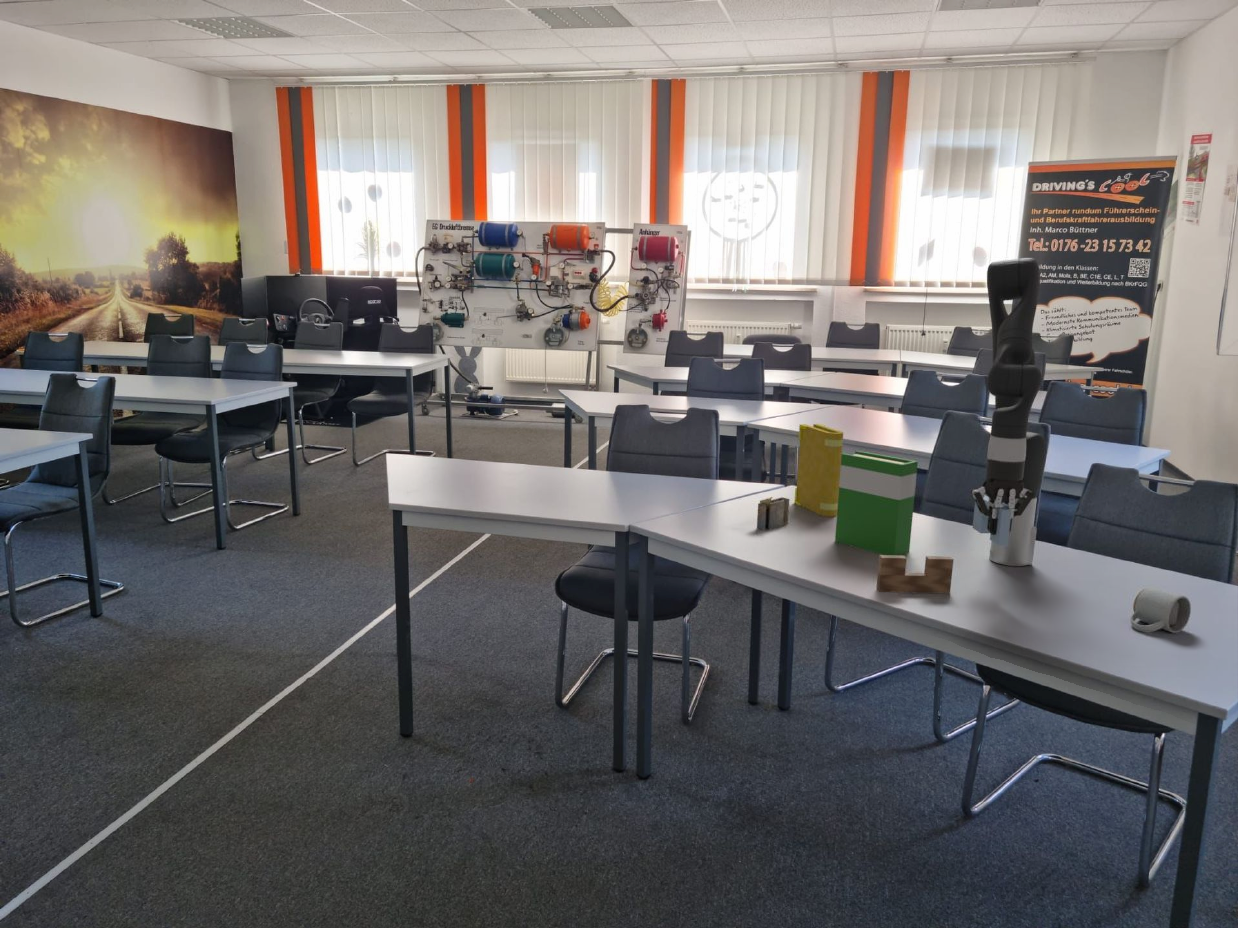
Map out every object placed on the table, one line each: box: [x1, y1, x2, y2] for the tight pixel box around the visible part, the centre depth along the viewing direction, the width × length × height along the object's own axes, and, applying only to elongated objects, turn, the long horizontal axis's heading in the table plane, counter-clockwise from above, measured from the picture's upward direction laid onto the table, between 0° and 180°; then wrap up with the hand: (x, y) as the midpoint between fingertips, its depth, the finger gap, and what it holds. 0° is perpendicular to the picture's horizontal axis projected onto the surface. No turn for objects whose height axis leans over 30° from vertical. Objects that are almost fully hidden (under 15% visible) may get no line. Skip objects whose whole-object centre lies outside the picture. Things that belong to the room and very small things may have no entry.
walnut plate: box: [876, 554, 954, 594], centre depth 198 cm, size 16×2×8 cm, turn 90°
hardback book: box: [834, 450, 919, 556], centre depth 230 cm, size 18×7×24 cm, turn 43°
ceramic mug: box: [1130, 588, 1192, 634], centre depth 181 cm, size 11×8×8 cm
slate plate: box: [972, 494, 1011, 546], centre depth 197 cm, size 14×2×8 cm, turn 1°
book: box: [794, 423, 844, 517], centre depth 267 cm, size 17×7×25 cm, turn 17°
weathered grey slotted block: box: [756, 496, 790, 531], centre depth 249 cm, size 11×3×10 cm, turn 135°
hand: (998, 533), depth 194 cm, fingers closed on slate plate, 2 cm apart
